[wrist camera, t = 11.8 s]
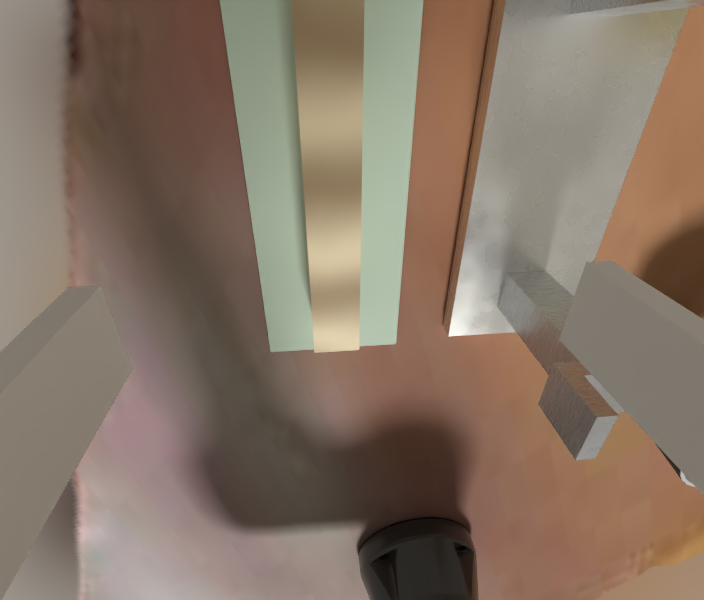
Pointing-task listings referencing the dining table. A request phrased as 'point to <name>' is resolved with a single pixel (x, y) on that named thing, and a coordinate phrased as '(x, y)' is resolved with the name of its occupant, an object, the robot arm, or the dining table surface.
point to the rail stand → (554, 179)
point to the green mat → (286, 160)
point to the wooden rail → (331, 161)
